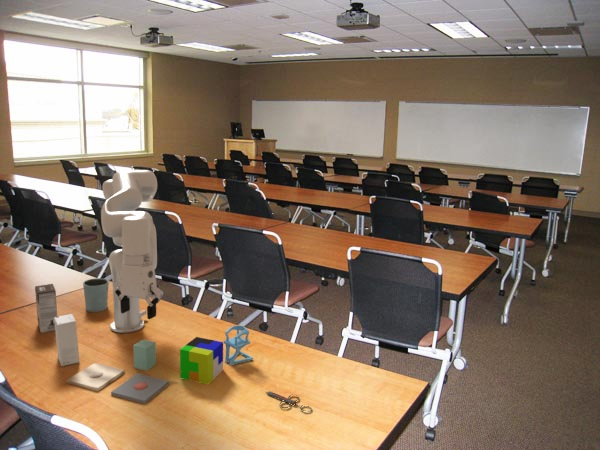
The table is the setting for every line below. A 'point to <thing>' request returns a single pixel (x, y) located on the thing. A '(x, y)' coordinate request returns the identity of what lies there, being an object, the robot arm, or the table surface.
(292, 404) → the syringe
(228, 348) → the chair
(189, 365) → the puzzle toy
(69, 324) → the skincare box
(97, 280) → the teal cup
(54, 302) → the coffee box
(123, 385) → the slate mat
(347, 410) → the table surface
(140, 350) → the teal block
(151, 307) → the robot arm
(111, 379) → the birch pad
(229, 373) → the table surface
